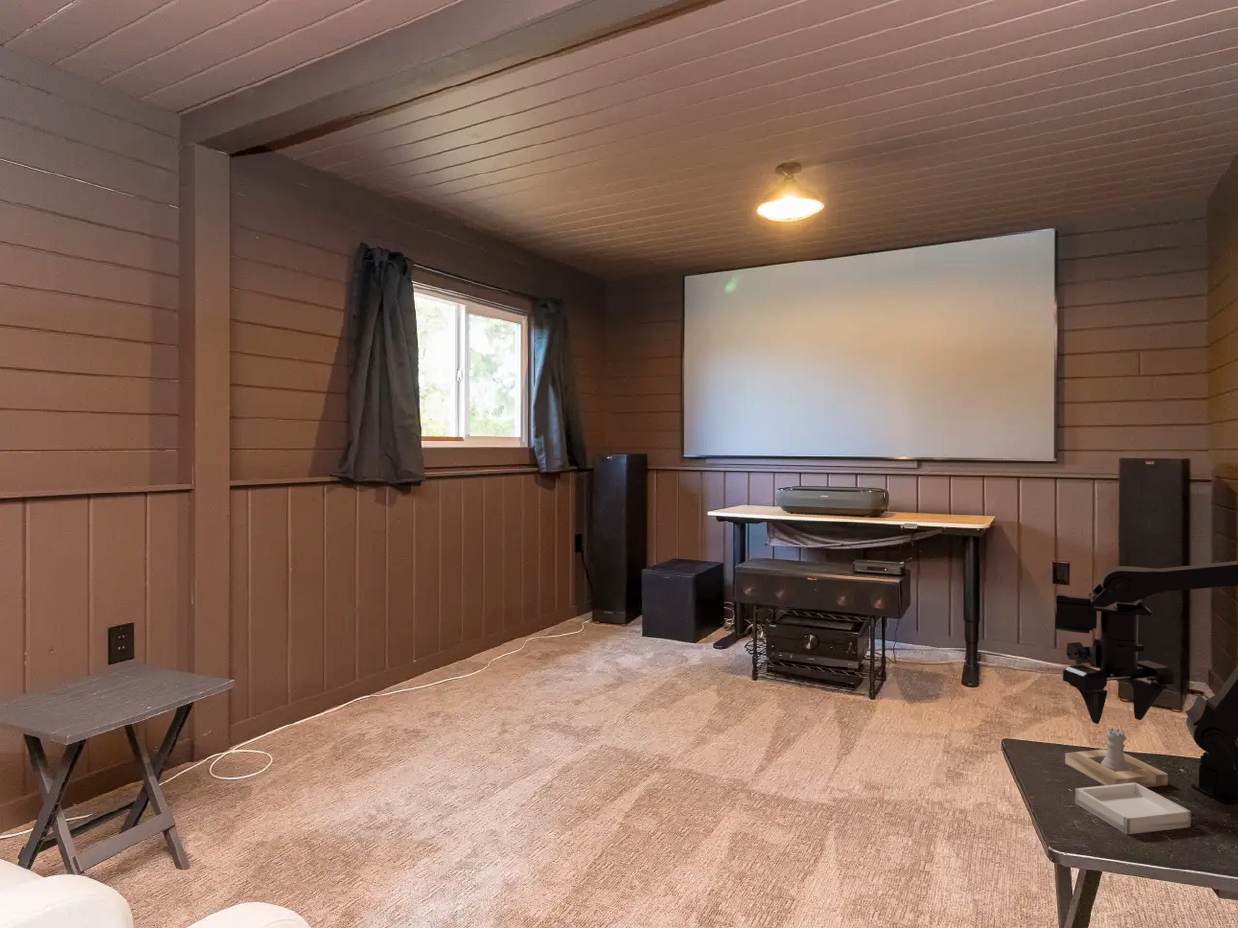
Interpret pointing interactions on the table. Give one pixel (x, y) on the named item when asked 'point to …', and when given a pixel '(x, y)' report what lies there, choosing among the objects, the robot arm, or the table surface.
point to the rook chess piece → (1115, 751)
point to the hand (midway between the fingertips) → (1116, 721)
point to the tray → (1132, 808)
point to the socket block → (1092, 767)
